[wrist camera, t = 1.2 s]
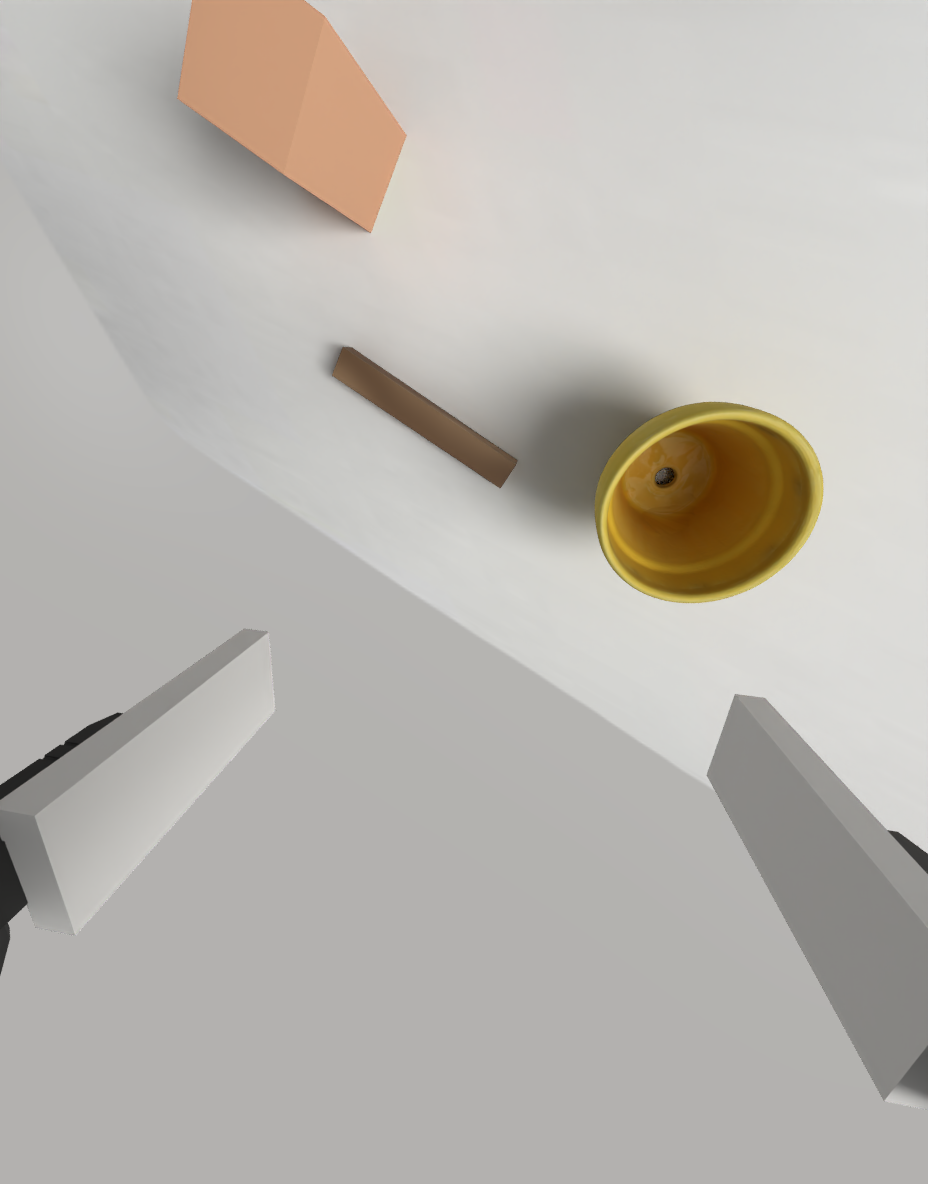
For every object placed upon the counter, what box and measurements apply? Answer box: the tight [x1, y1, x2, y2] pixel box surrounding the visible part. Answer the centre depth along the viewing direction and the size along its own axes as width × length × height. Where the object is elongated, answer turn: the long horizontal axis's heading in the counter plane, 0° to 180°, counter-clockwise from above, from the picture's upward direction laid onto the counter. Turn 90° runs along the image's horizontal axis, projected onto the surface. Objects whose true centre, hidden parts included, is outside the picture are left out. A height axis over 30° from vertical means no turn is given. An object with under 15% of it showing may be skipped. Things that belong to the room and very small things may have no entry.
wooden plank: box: [332, 347, 518, 488], centre depth 31 cm, size 2×14×2 cm, turn 59°
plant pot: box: [595, 402, 823, 603], centre depth 26 cm, size 10×10×10 cm
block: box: [177, 0, 406, 233], centre depth 22 cm, size 5×5×10 cm
